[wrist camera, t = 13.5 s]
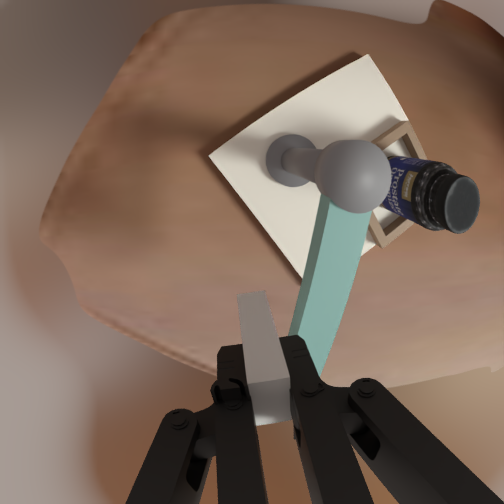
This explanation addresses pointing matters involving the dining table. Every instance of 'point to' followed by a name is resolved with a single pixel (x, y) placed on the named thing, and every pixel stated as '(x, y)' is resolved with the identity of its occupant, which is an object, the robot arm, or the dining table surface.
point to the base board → (322, 126)
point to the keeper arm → (337, 238)
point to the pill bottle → (432, 194)
